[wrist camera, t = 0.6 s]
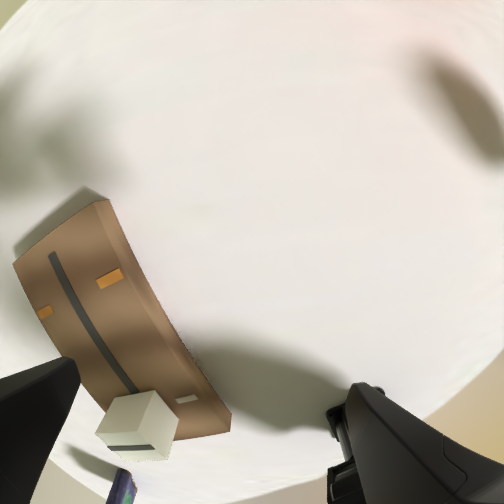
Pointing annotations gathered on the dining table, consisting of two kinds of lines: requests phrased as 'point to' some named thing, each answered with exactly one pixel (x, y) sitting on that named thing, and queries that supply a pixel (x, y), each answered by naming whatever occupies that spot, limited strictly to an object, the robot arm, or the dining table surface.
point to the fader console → (115, 321)
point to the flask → (122, 488)
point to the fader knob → (139, 427)
